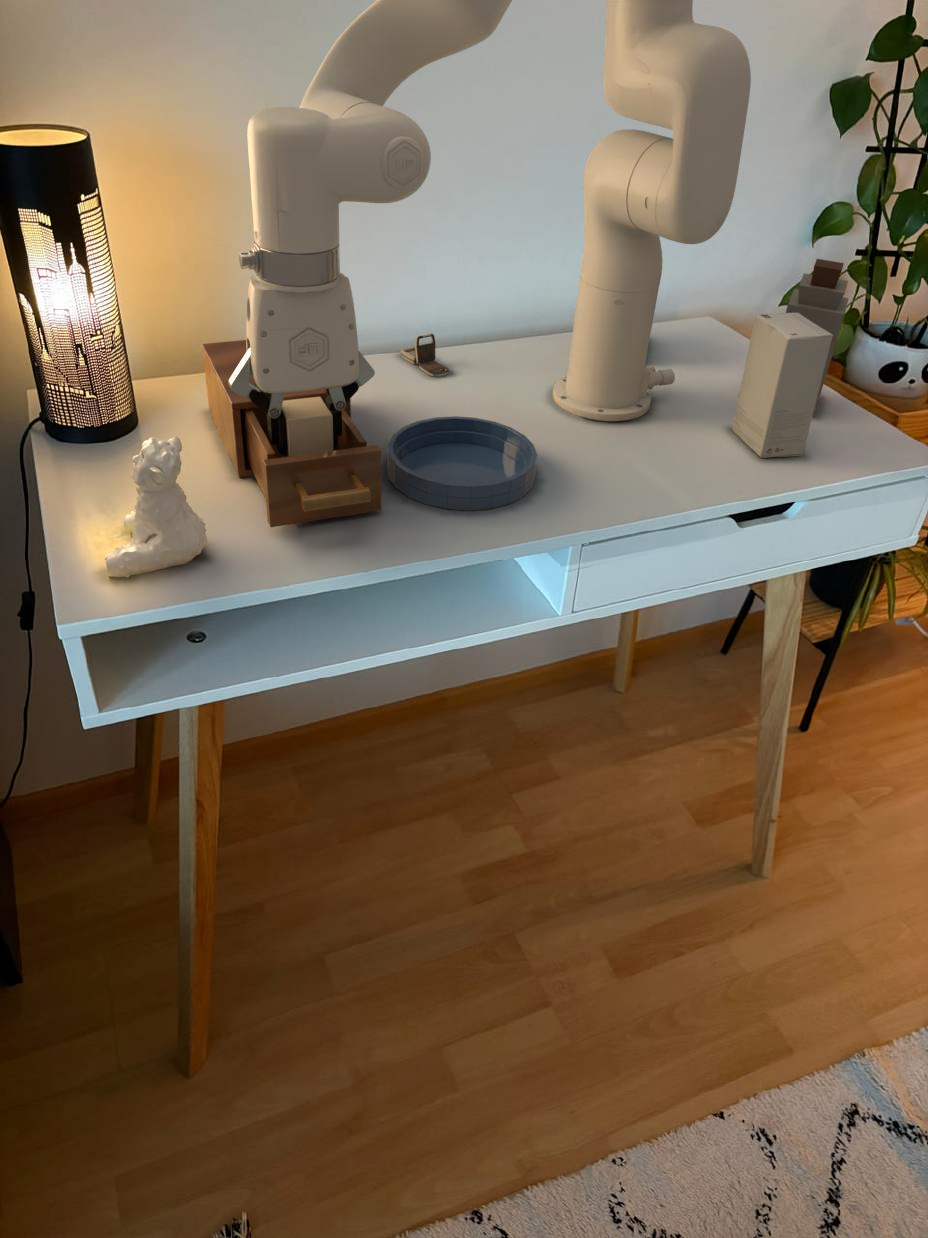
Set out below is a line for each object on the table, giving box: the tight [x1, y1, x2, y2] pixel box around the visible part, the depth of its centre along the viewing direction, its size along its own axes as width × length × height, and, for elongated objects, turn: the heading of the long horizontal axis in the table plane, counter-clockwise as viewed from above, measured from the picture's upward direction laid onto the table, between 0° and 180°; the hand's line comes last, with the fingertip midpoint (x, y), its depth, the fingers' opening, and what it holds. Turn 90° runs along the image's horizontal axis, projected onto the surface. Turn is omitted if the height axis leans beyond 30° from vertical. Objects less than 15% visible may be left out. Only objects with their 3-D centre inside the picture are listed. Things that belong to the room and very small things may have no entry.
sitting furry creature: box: [104, 436, 208, 579], centre depth 87 cm, size 10×9×12 cm
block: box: [282, 397, 333, 457], centre depth 96 cm, size 4×4×5 cm
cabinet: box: [201, 339, 352, 478], centre depth 108 cm, size 17×13×9 cm
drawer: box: [240, 400, 383, 528], centre depth 97 cm, size 20×11×7 cm, turn 23°
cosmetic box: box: [731, 312, 833, 459], centre depth 112 cm, size 8×6×15 cm
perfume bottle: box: [785, 258, 850, 418], centre depth 121 cm, size 7×7×18 cm
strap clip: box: [400, 333, 450, 377], centre depth 128 cm, size 8×3×4 cm, turn 35°
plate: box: [386, 416, 538, 511], centre depth 105 cm, size 16×16×3 cm
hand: (305, 443), depth 97 cm, fingers closed on block, 4 cm apart
